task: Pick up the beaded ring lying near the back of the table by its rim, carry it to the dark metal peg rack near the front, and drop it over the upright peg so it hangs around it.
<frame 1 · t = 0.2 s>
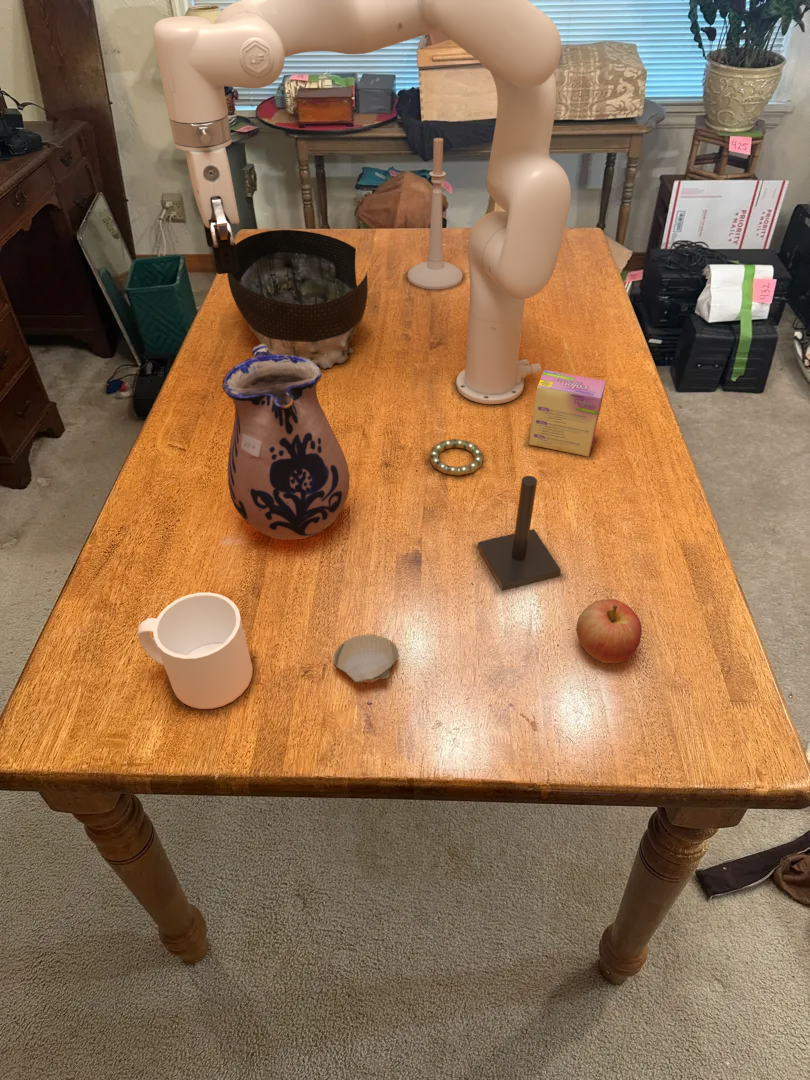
hand: (223, 258, 112), 31 cm above the table, tool pointing down, fingers open, 9 cm apart
mug: (203, 676, 96), on the table
ceramic pitcher: (291, 512, 118), on the table
apple: (603, 649, 99), on the table
candlestick: (435, 277, 177), on the table
seashell: (366, 666, 97), on the table
basket: (303, 333, 158), on the table
rack: (517, 561, 110), on the table
box: (561, 443, 131), on the table
beaded ring: (456, 456, 127), point 1 cm above the table
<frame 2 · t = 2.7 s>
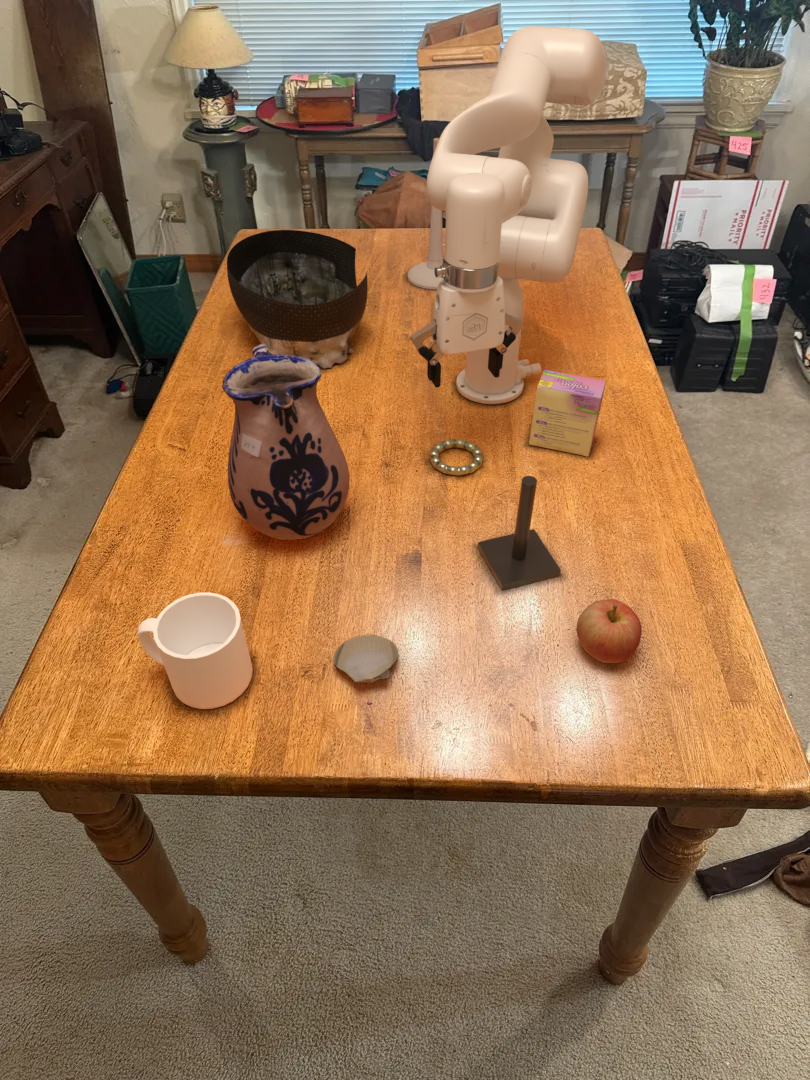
hand: (464, 377, 118), 15 cm above the table, tool pointing down, fingers open, 9 cm apart
nothing on the table moved.
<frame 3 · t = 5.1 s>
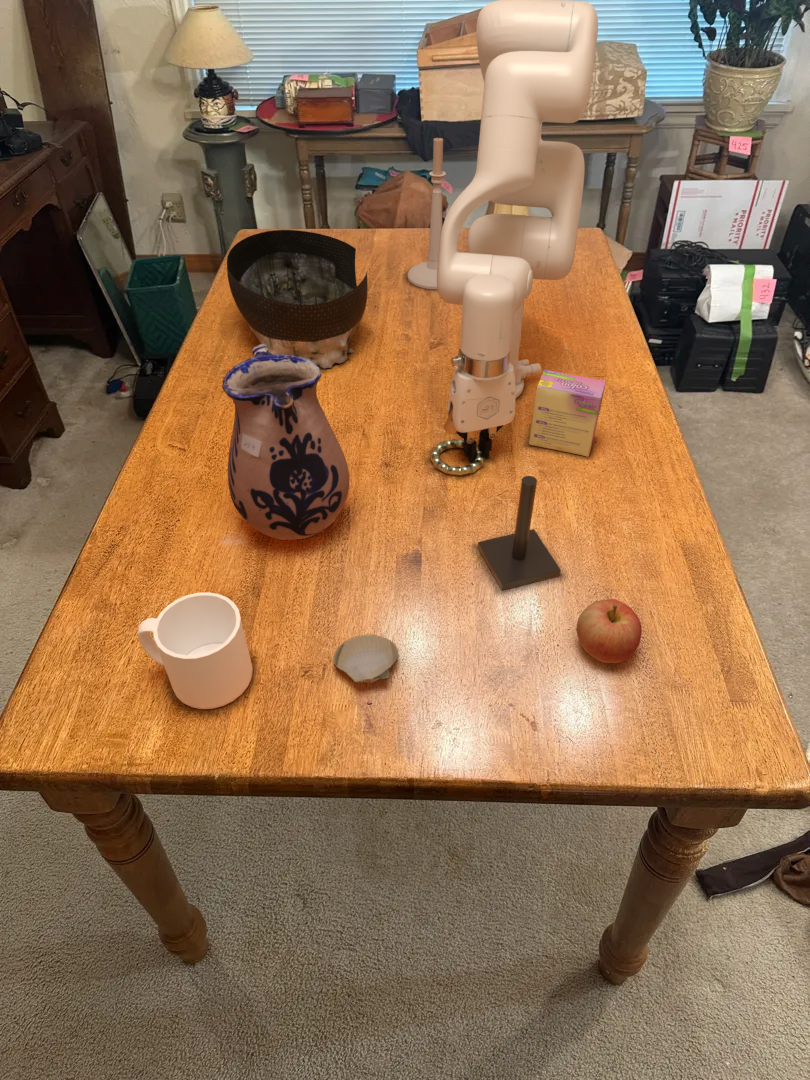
hand: (476, 455, 128), 0 cm above the table, tool pointing down, fingers closed on beaded ring, 1 cm apart
beaded ring: (457, 456, 127), point 1 cm above the table, touching gripper
everything else where it was.
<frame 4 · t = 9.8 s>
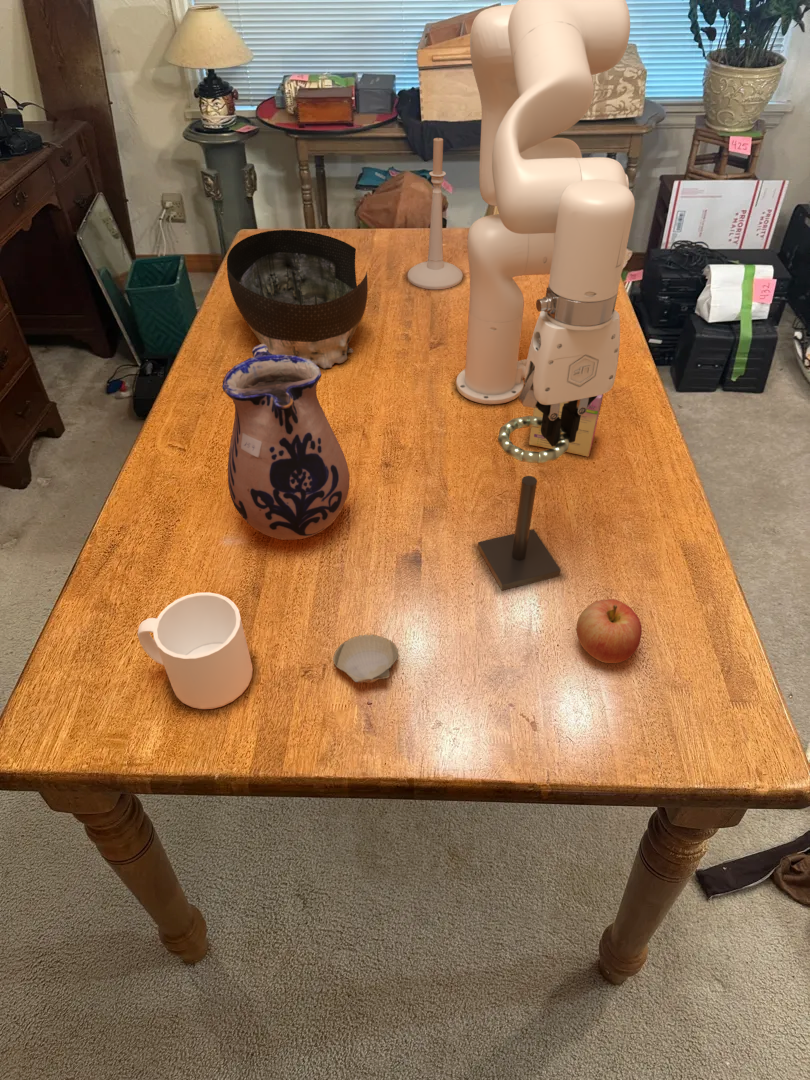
hand: (558, 437, 97), 21 cm above the table, tool pointing down, fingers closed on beaded ring
beaded ring: (533, 438, 96), point 21 cm above the table, touching gripper
everything else where it was.
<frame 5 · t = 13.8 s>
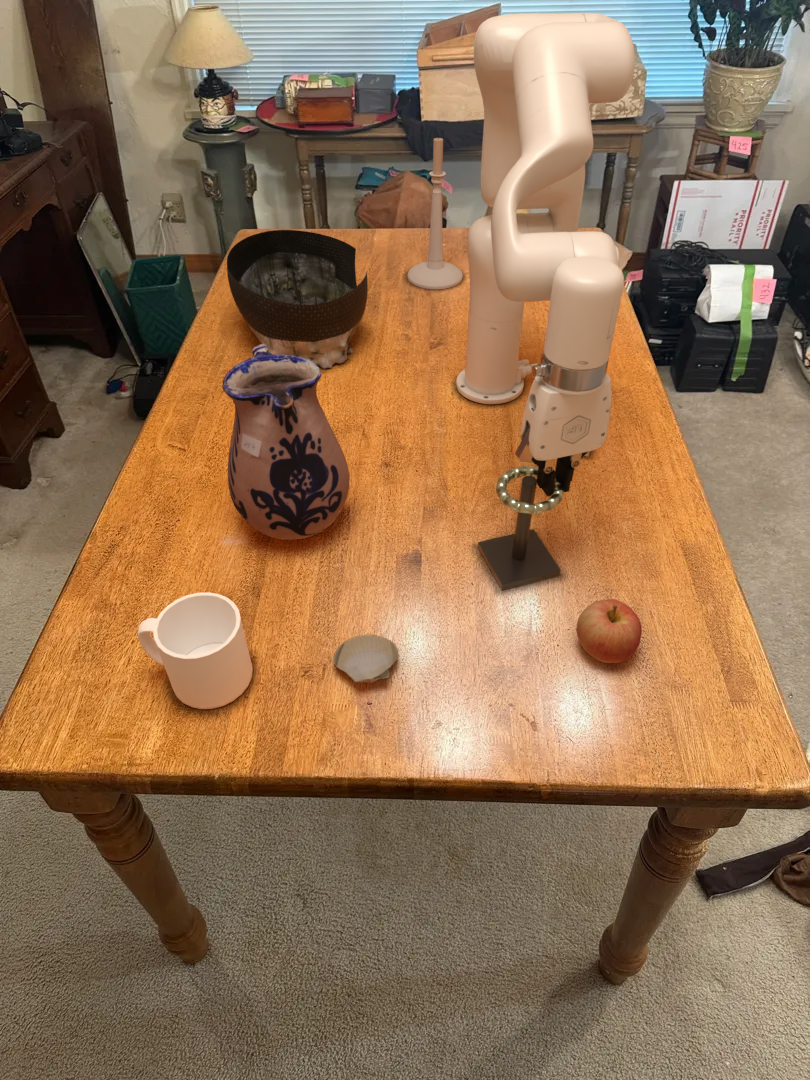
hand: (553, 487, 102), 13 cm above the table, tool pointing down, fingers closed on beaded ring
beaded ring: (529, 489, 101), point 14 cm above the table, touching gripper
everything else where it was.
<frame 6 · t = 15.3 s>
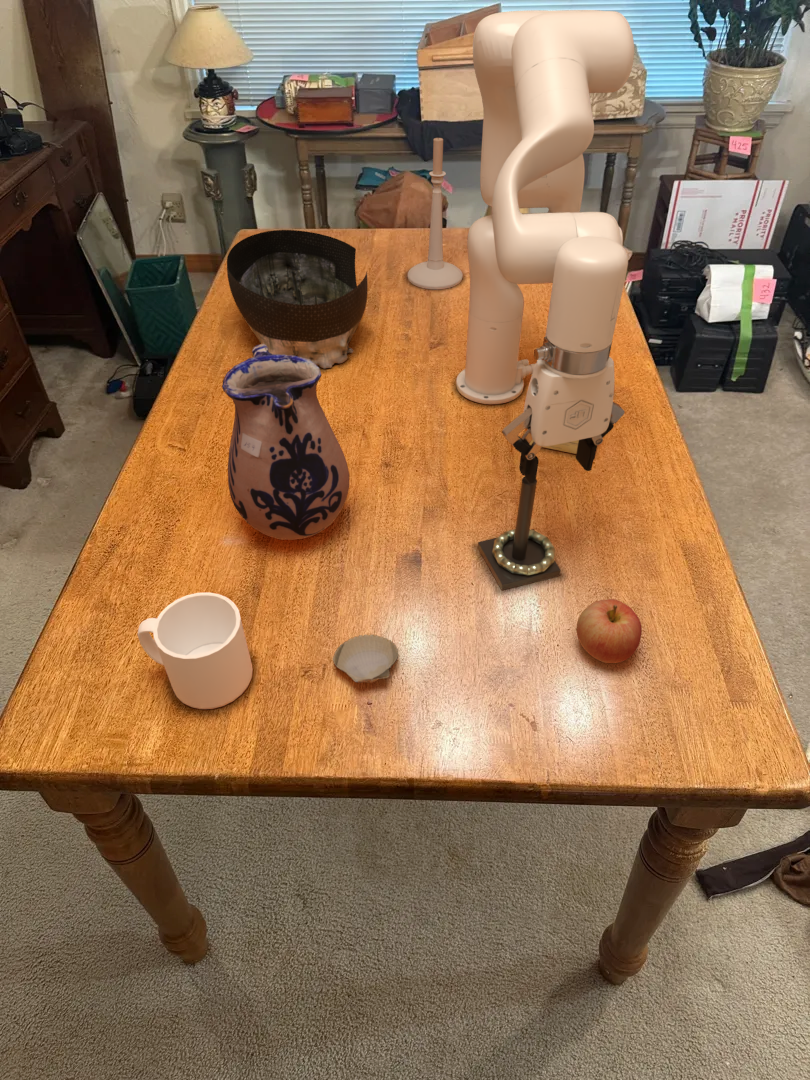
hand: (555, 470, 100), 16 cm above the table, tool pointing down, fingers open, 7 cm apart
beaded ring: (523, 551, 109), point 2 cm above the table, touching rack
everything else where it was.
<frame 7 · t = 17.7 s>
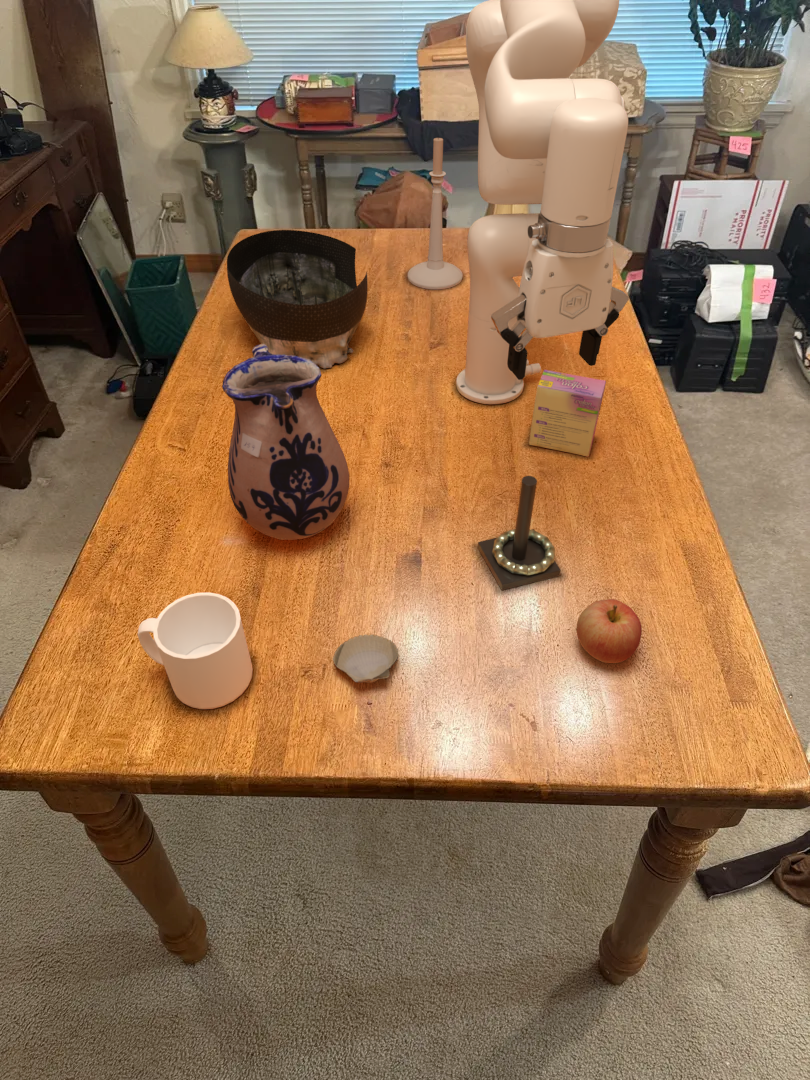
hand: (551, 366, 95), 28 cm above the table, tool pointing down, fingers open, 9 cm apart
nothing on the table moved.
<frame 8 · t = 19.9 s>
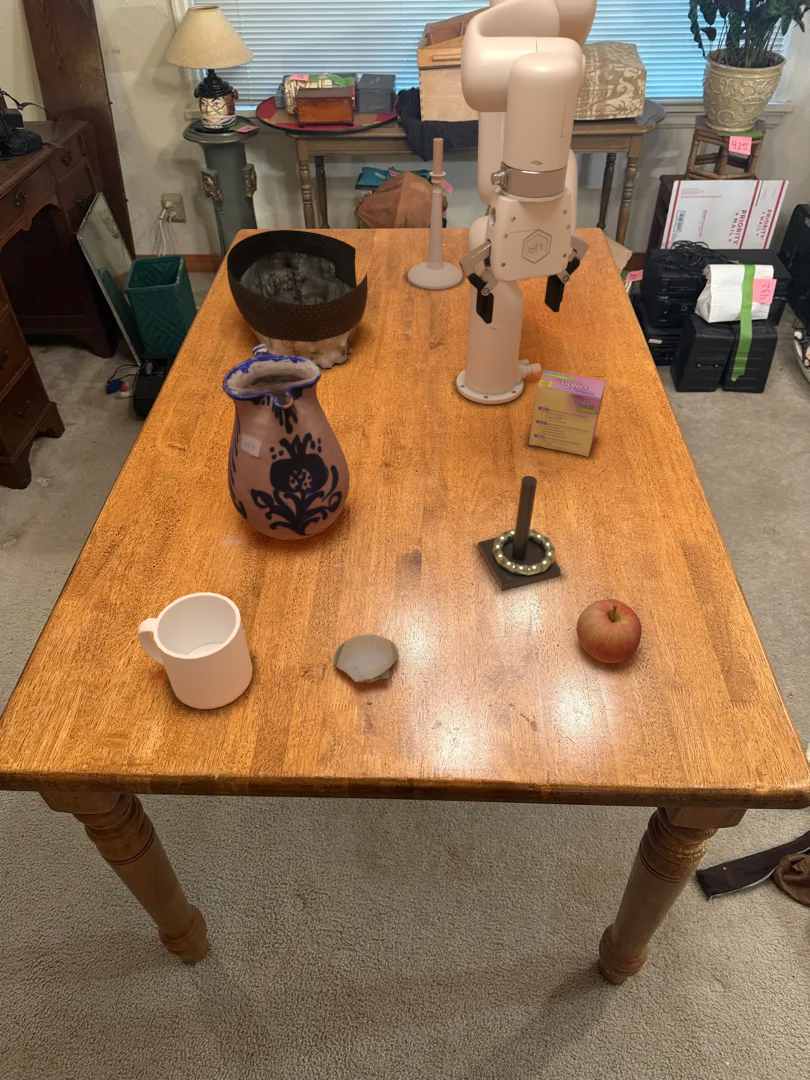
hand: (518, 313, 101), 30 cm above the table, tool pointing down, fingers open, 9 cm apart
nothing on the table moved.
at the end: beaded ring 0.7 cm from the rack (horizontally); beaded ring point 1.9 cm above the table; beaded ring moved 25.1 cm from its start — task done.
